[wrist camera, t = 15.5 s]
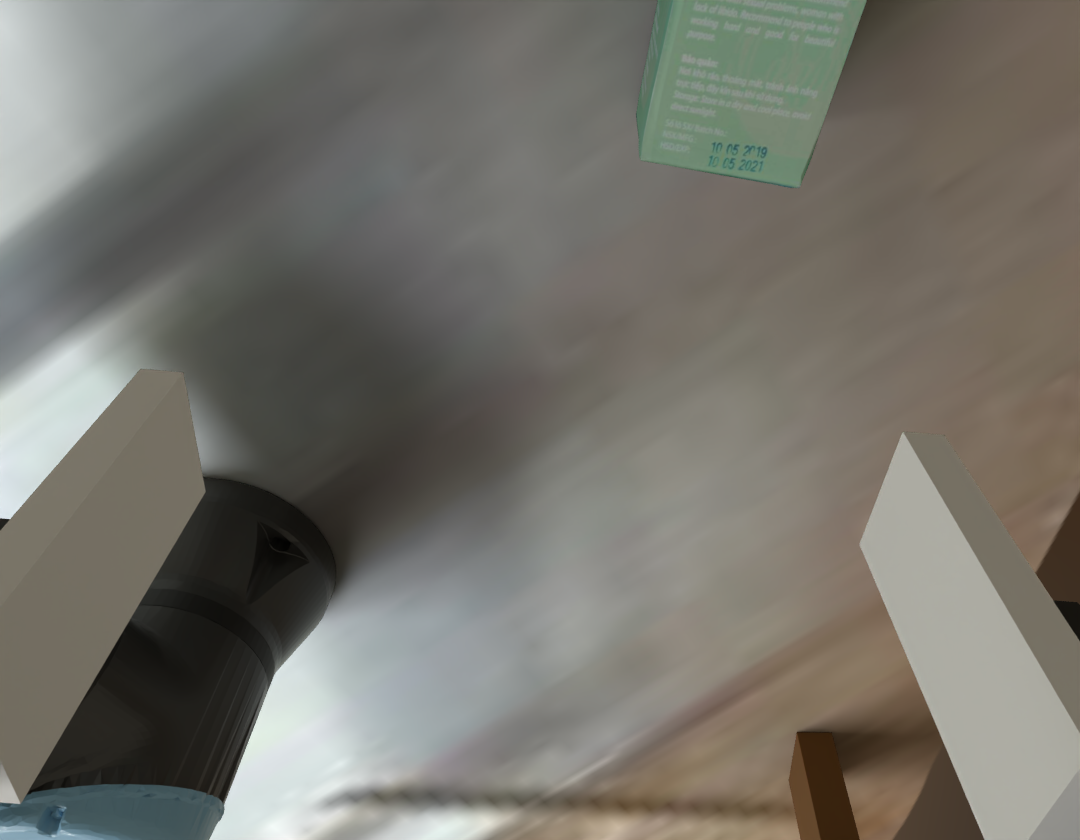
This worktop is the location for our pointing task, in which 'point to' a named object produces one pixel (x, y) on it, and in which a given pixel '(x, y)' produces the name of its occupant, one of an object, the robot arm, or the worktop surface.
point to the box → (742, 84)
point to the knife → (820, 790)
